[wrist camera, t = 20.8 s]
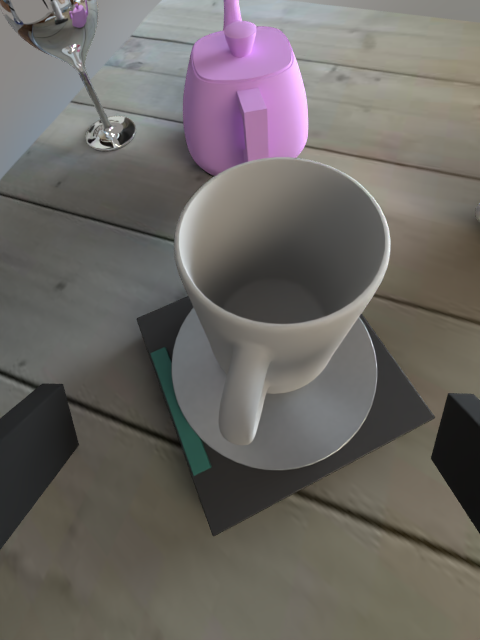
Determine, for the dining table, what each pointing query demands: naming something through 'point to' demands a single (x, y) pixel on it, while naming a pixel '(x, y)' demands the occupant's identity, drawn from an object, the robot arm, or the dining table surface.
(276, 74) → the teapot
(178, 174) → the dining table surface
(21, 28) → the wineglass
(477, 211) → the teacup
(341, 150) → the dining table surface
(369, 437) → the scale
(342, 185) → the mug
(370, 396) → the scale pan
